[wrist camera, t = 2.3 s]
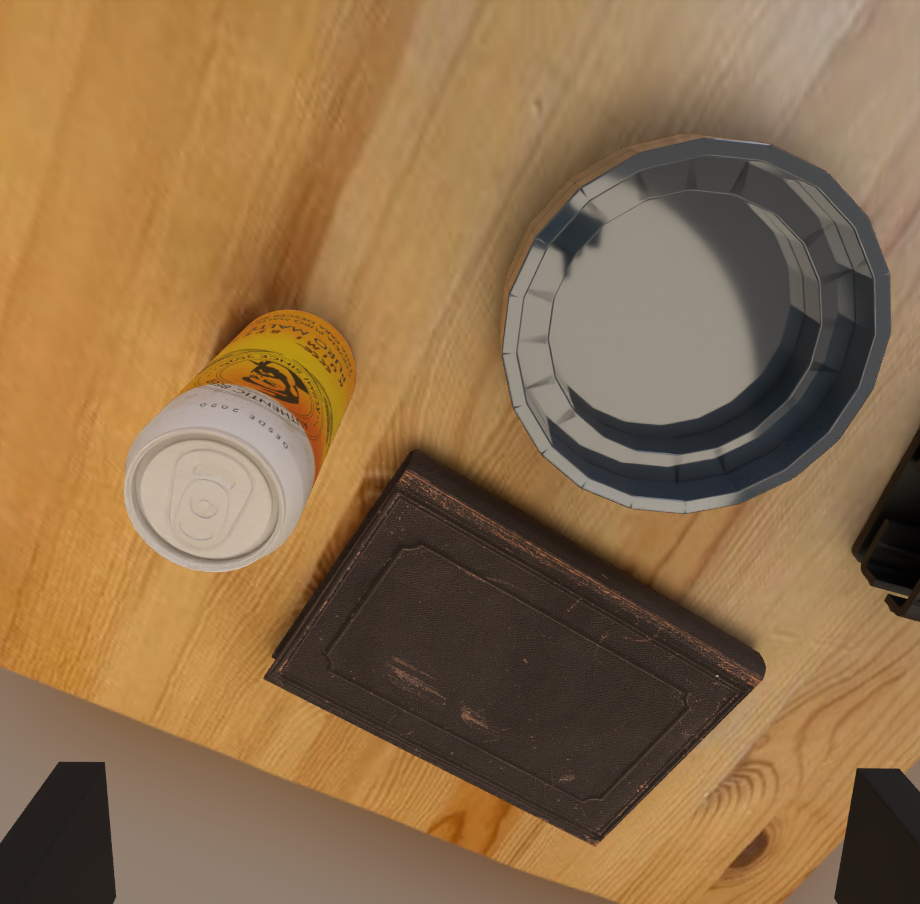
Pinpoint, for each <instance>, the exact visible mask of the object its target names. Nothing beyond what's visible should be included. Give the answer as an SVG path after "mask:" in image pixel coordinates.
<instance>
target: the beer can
mask: <svg viewBox="0 0 920 904" xmlns="http://www.w3.org/2000/svg"><path fill="white" fill-rule="evenodd" d="M355 382H356V367H355V362H354V357H353V355H352V352H351V350H350V348H349V346H348V344H347V342H346V341H345V339H344V338H343V336H342V335H341V334H340V333H339V332H338V331H337V330H336V329H335V328H334V327H333V326H332V325H330V324H329V323H328V322H326V321H325V320H323V319H322V318H320V317H318V316H315V315H313V314H310V313H307V312H303V311H299V310H278V311H274V312H270V313H267V314H264V315H262V316H260V317H258V318H257V319H255V320H254V321H252V322H251V323H250V324H249V325H248V326H247V327H246V328H245V329H244V330H243V331H242V332H241V333H240V334H239V335H238V336H237V337H236V338H235V339H233V340H232V341H231V342H230V343H229V344H228V345H227V346H226V347H225V348H224V349H223V350H222V351H221V352H220V353H219V354H218V355H217V356H216V357H215V358H214V359H213V360H212V361H211V362H210V363H209V364H208V365H207V366H206V367H205V368H204V369H203V370H202V371H201V372H200V373H199V374H198V375H197V376H196V377H195V378H194V379H193V380H192V381H191V382H190V383H189V384H188V385H187V386H186V387H185V388H184V389H183V390H182V391H181V392H180V393H179V394H178V395H177V396H176V397H175V398H174V399H173V400H172V401H171V402H170V403H169V404H168V405H167V406H166V407H165V408H164V409H163V410H162V411H161V412H160V413H159V414H157V415H156V416H155V417H154V418H153V419H152V420H151V421H150V422H149V423H148V424H147V425H146V426H145V427H144V428H143V429H142V431H141V432H140V433H139V434H138V435H137V437H136V439H135V440H134V442H133V444H132V446H131V448H130V450H129V453H128V457H127V460H126V467H125V482H124V500H125V506H126V510H127V513H128V515H129V518H130V520H131V522H132V524H133V526H134V528H135V529H136V531H137V532H138V534H139V535H140V536H141V538H142V539H143V540H144V541H145V542H146V543H147V544H148V545H149V546H150V547H151V548H152V549H153V550H154V551H156V552H157V553H158V554H160V555H161V556H163V557H164V558H166V559H167V560H169V561H171V562H173V563H175V564H178V565H180V566H182V567H186V568H189V569H192V570H197V571H203V572H227V571H232V570H237V569H240V568H243V567H245V566H248V565H250V564H252V563H253V562H255V561H257V560H258V559H260V558H262V557H265V556H267V555H268V554H270V553H272V552H273V551H275V550H276V549H277V548H279V547H280V546H281V545H282V544H283V543H284V542H285V541H286V540H287V539H288V538H289V536H290V535H291V534H292V532H293V530H294V529H295V527H296V525H297V523H298V521H299V518H300V516H301V514H302V511H303V509H304V507H305V504H306V502H307V500H308V497H309V495H310V493H311V490H312V488H313V486H314V483H315V481H316V478H317V476H318V474H319V471H320V469H321V467H322V464H323V462H324V460H325V457H326V455H327V453H328V450H329V448H330V446H331V443H332V441H333V439H334V436H335V434H336V432H337V429H338V427H339V425H340V422H341V420H342V418H343V415H344V413H345V411H346V408H347V406H348V404H349V401H350V399H351V396H352V394H353V391H354V387H355Z"/></svg>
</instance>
